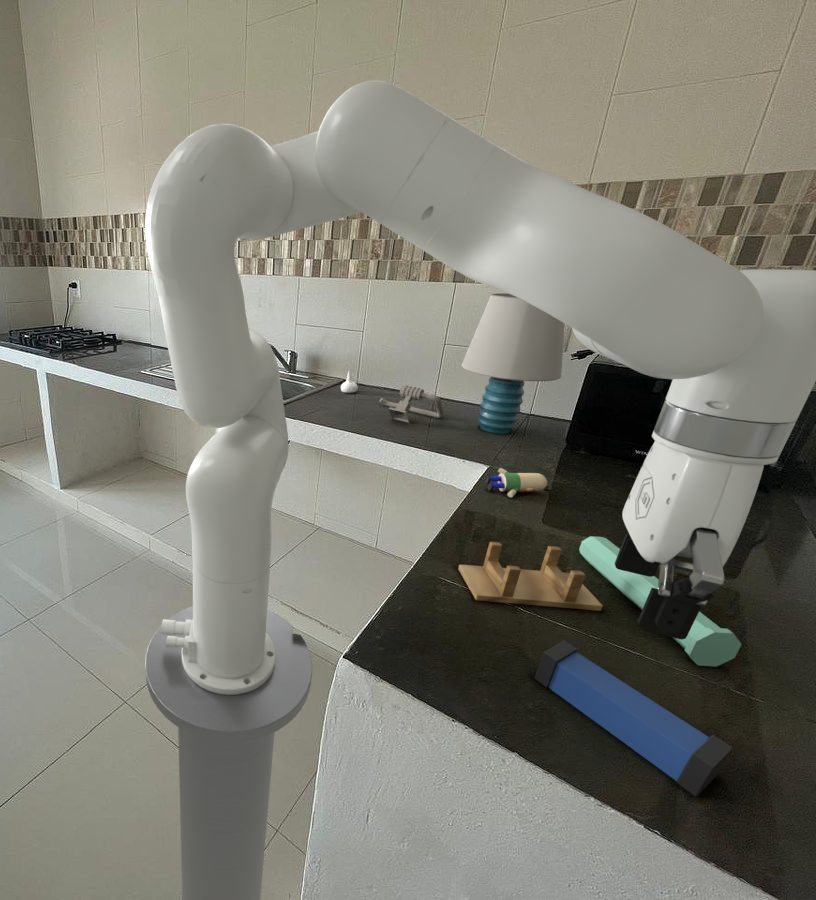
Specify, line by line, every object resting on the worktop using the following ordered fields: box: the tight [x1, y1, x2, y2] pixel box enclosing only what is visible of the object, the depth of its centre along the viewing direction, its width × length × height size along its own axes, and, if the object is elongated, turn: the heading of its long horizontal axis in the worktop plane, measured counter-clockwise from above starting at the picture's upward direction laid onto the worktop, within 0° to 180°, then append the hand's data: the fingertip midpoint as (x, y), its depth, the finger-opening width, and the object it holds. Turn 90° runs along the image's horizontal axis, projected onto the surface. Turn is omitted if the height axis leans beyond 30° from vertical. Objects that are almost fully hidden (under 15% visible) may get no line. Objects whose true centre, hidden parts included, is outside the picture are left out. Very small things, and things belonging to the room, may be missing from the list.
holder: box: [457, 541, 603, 612], centre depth 76 cm, size 18×8×6 cm, turn 83°
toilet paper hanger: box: [378, 385, 445, 423], centre depth 158 cm, size 22×11×14 cm
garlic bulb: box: [340, 370, 358, 394], centre depth 184 cm, size 6×6×8 cm
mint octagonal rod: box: [578, 535, 743, 668], centre depth 73 cm, size 6×6×25 cm
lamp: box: [461, 292, 566, 435], centre depth 140 cm, size 25×25×39 cm
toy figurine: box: [484, 467, 548, 498], centre depth 108 cm, size 8×4×12 cm
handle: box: [534, 640, 734, 797], centre depth 54 cm, size 16×4×4 cm, turn 27°
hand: (645, 599), depth 46 cm, fingers open, 9 cm apart
